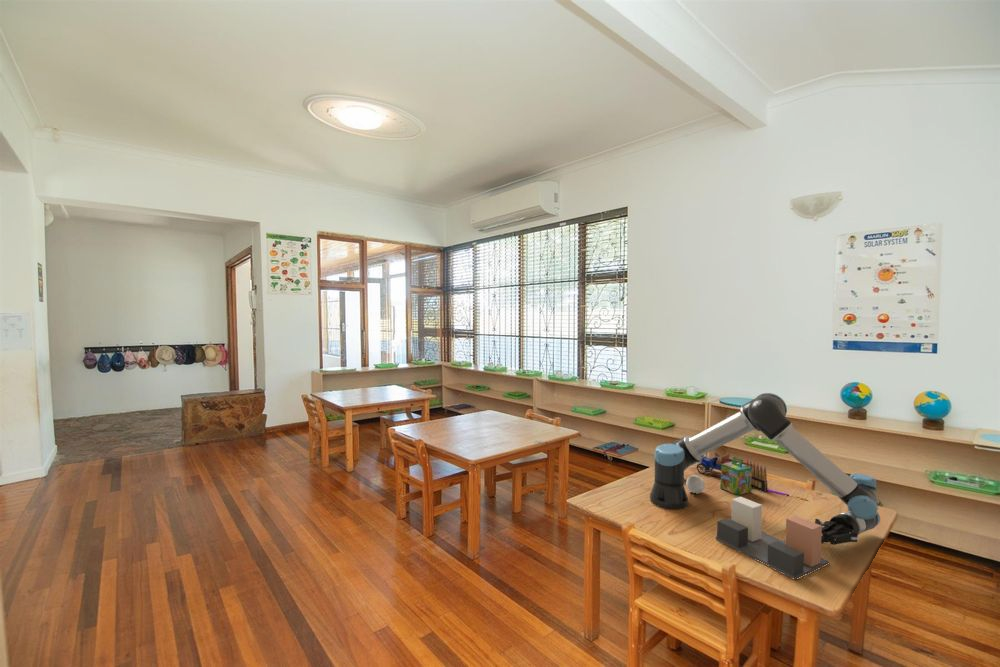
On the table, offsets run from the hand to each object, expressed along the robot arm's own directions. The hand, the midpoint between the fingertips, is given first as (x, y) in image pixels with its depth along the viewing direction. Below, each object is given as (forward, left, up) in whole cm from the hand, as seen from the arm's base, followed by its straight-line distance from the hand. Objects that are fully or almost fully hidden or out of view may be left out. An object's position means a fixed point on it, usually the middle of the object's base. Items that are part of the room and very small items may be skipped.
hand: (809, 541), depth 144 cm
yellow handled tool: (+23, +52, -7) cm, 58 cm away
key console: (-9, +5, -6) cm, 13 cm away
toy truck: (+6, +73, -7) cm, 73 cm away
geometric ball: (-16, +53, -7) cm, 56 cm away
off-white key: (-13, +14, -5) cm, 20 cm away
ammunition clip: (+14, +60, -7) cm, 62 cm away
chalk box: (+3, +56, -7) cm, 57 cm away
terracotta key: (-3, -1, -5) cm, 6 cm away
